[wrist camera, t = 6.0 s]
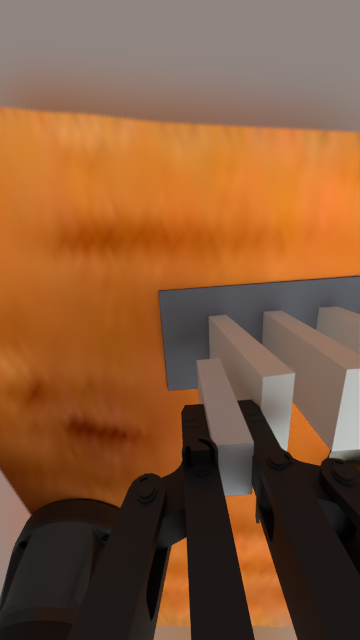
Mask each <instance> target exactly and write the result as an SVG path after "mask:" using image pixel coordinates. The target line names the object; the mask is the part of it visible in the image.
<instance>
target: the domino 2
mask: <svg viewBox="0 0 360 640" xmlns="http://www.w3.org/2000/svg"><path fill="white" fill-rule="evenodd" d="M262 345H263V346H264V347H265V348H266V349H267V350H269V351H270V352H271V353H272V354H273V355H275V356H276V357H277V358H278V359H279V360H280V361H282V362H283V363H284V364H285V365H286V366H288V367H289V368H290V369H291V370H292V371H294V372H295V380H294V390H293V399H292V401H293V403H294V404H295V405H296V407H297V408H298V409H299V410H300V412H301V413H302V414H303V415H304V417H305V418H306V419H307V421H308V422H309V423H310V424H311V426H312V427H313V428H314V430H315V431H316V432H317V433H318V435H319V436H320V437H321V439H322V440H323V441H324V442H325V444H326V445H327V446H328V447H329V449H330V450H331V451H344V450H357V449H360V355H359V354H357V353H355V352H354V351H352V350H350V349H348V348H347V347H345V346H343V345H341V344H340V343H338V342H336V341H334V340H333V339H331V338H329V337H327V336H326V335H324V334H322V333H320V332H319V331H317V330H315V329H313V328H312V327H310V326H308V325H306V324H305V323H303V322H301V321H299V320H298V319H296V318H294V317H292V316H290V315H289V314H287V313H285V312H283V311H282V310H279V311H266V312H264V315H263V335H262Z"/></svg>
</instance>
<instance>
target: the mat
mask: <svg viewBox="0 0 360 640" xmlns="http://www.w3.org/2000/svg"><path fill="white" fill-rule="evenodd" d="M159 301H160V311H161V322H162V332H163V342H164V352H165V362H166V372H167V382H168V391H170V390H183V389H196V388H198V376H197V360H206V359H210V351H209V317H208V316H216V315H225V314H226V315H227V316H228V317H230V318H231V319H232V320H233V321H234V322H235V323H237V324H238V325H239V326H240V327H241V328H243V329H244V330H245V331H246V332H247V333H249V334H250V335H251V336H252V337H253V338H254V339H256V340H257V341H258V342H259V343H260V344H262V335H263V315H264V312H266V311H279V310H282V311H283V312H285V313H287V314H289V315H290V316H292V317H294V318H296V319H298V320H299V321H301V322H303V323H305V324H306V325H308V326H310V327H312V328H313V329H315V330H316V327H317V319H318V312H319V307H333V306H337V307H340V308H343V309H346V310H349V311H352V312H354V313H357V314H360V276H353V277H340V278H326V279H312V280H299V281H285V282H271V283H257V284H244V285H230V286H216V287H203V288H189V289H175V290H162V291H159Z"/></svg>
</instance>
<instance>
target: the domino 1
mask: <svg viewBox="0 0 360 640" xmlns="http://www.w3.org/2000/svg"><path fill="white" fill-rule="evenodd" d="M208 317H209V351H210V359H220V361H221V364H222V366H223V368H224V371H225V373H226V376H227V378H228V381H229V383H230V385H231V388H232V390H233V393H234V395H235V398H236V400H249V399H251V400H253V401H254V402H255V403H256V404H257V405H259V407H260V409H261V411H262V413H263V415H264V416H265V418H266V421H267V422H268V424H269V426H270V428H271V429H272V431H273V433H274V435H275V437H276V439H277V441H278V443H279V444H280V446H281V448H282V449H284V450H285V451H287V447H288V437H289V428H290V418H291V409H292V399H293V390H294V380H295V372H294V371H292V370H291V369H290V368H289V367H288V366H286V365H285V364H284V363H283V362H282V361H280V360H279V359H278V358H277V357H276V356H275V355H273V354H272V353H271V352H270V351H269V350H267V349H266V348H265V347H264V346H263V345H262V344H260V343H259V342H258V341H257V340H256V339H254V338H253V337H252V336H251V335H250V334H249V333H247V332H246V331H245V330H244V329H243V328H241V327H240V326H239V325H238V324H237V323H235V322H234V321H233V320H232V319H231V318H230V317H228V316H227V315H226V314H225V315H216V316H208Z"/></svg>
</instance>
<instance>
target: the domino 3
mask: <svg viewBox="0 0 360 640" xmlns="http://www.w3.org/2000/svg"><path fill="white" fill-rule="evenodd" d="M316 330H317V331H319V332H320V333H322V334H324V335H326V336H327V337H329V338H331V339H333V340H334V341H336V342H338V343H340V344H341V345H343V346H345V347H347V348H348V349H350V350H352V351H354V352H355V353H357V354H359V355H360V314H357V313H354V312H352V311H349V310H346V309H343V308H340V307H337V306H333V307H319V312H318V319H317V327H316Z"/></svg>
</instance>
